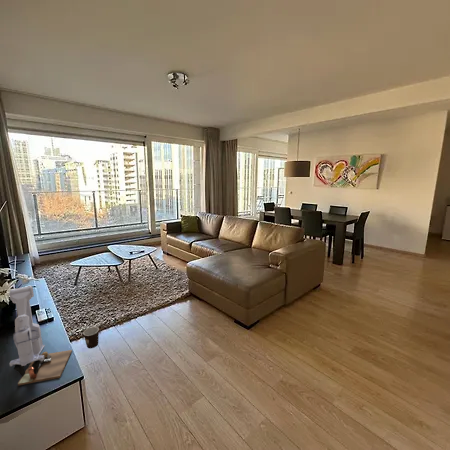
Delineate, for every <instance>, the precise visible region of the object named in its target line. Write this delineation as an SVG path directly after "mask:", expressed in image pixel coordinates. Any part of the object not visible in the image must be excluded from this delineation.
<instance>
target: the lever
mask: <svg viewBox="0 0 450 450" xmlns="http://www.w3.org/2000/svg"><path fill="white" fill-rule="evenodd" d="M51 360H52V359H51V358H49V359H45V358H44V360H43V361H40V364H39V368H40V366H41V364H43V363H46V362H51ZM39 368H38V370H39ZM28 371H29V376H30V379H34V378H35V377H37V374H35V373H34V369H33V367H30V368H29V369H28Z"/></svg>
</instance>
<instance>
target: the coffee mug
mask: <svg viewBox="0 0 450 450" xmlns="http://www.w3.org/2000/svg"><path fill="white" fill-rule="evenodd" d="M99 332H100V328H99V327H98V326H91V327H88V328H86V329H85V330H82V331H81V333H82V336H83V338H84V341H85V345H86V347H87V348H88V349H94V348H96V347H98V345H99V336H100V335H99Z"/></svg>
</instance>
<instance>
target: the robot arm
mask: <svg viewBox="0 0 450 450" xmlns="http://www.w3.org/2000/svg"><path fill="white" fill-rule="evenodd" d="M8 294H9V300H10V301H12V303H13V304H15V306H16V314H17V317H16V318H15V319H14V326H15V327H14V333H13V341H14V345H15V347H16V349H17V353H18V358H16V359H12V360H10V362H9V367H13V370H15V371H16V372H18V373H19V375H20V376H21V378H22V377H23V376H24V375H25V371H26V369H25V366H27V364H31V362H34V363H33V364H32V367H33V369H34V373H35V374H37V373H38V368H39V364H40V361H43V360H44V358H45V357H44V355H41V354H42V353H41V352H43V349H44V348H45V346H46V345H45V344H43V343H44V342H43V339H42V331H41V327H40V325H39V323H34V321H33V314H32V308H31V303H30V301H31V300H32V299H33V297H34V295H35V294H34V288H33V286H32V285H29V286H24V287H18V288H13V289H10V290H9V293H8Z"/></svg>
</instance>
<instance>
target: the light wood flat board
mask: <svg viewBox="0 0 450 450" xmlns="http://www.w3.org/2000/svg"><path fill="white" fill-rule="evenodd" d="M71 354H73V349H69V350H68V349H67V350H62V351H57V352H50V353H48V351H44V352H43V351H42V353H40V355H44V357H45V359H49V358H51V359H52V360H51V362H46V363H43V364H41V366H40V368H39V370H38V373H37V377H35V378H34V379H30V376H29V371H28V369H29V368H30V367H32V364H33V363H34V362H31V363H29V365H28V367H27V368H26V369H25V375H24V376H23V377H22V376H21V377H20V379H19V380H18V382H17V386H23V385H28V384H33V383H38V382H45V381H49V380H57V379H59V378H61V377H62V374H63V373H64V371H65V369H66V366H67V364H68V362H69V360H70V357H71Z"/></svg>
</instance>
